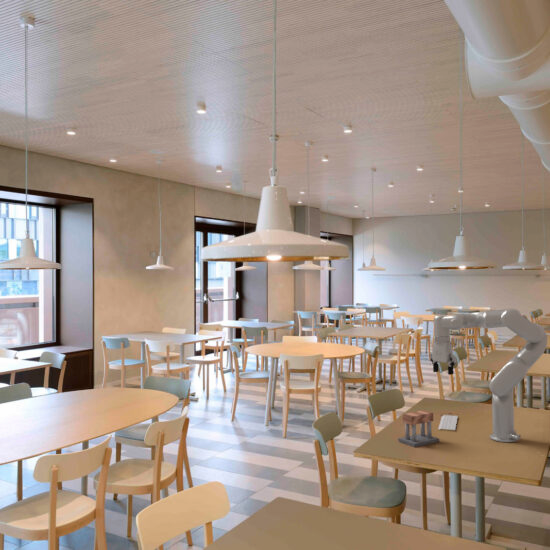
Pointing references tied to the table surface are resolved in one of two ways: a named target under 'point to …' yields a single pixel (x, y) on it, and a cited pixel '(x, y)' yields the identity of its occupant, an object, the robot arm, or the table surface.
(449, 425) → the baseboard
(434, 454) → the table surface
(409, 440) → the peg stand
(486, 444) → the table surface
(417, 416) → the pink elongated block
